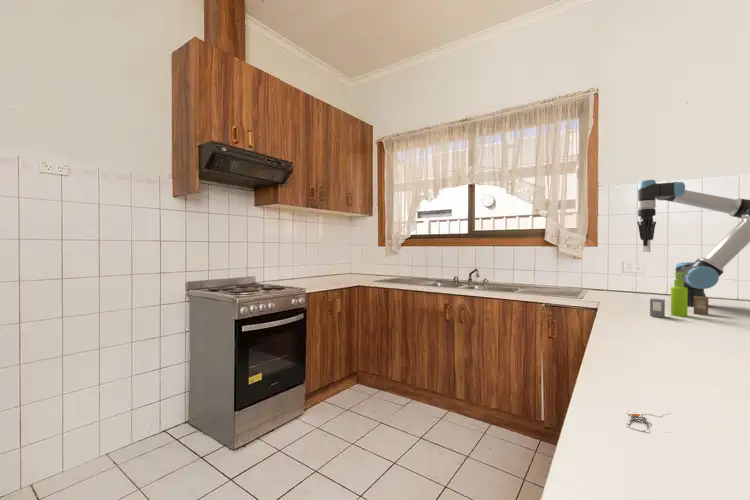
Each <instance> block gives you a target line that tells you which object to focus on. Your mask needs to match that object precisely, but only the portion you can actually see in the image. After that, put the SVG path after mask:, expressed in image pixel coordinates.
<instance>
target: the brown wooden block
mask: <svg viewBox="0 0 750 500" xmlns="http://www.w3.org/2000/svg"><path fill="white" fill-rule="evenodd" d="M693 314H694V315H699V316H709V297H708V296H706V297H697V296H694V306H693Z"/></svg>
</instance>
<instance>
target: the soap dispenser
mask: <svg viewBox="0 0 750 500" xmlns="http://www.w3.org/2000/svg"><path fill="white" fill-rule="evenodd" d="M676 274H677V279H676V278H675V279H674V280H673V281H674V282H673V283H674V284H673V286H670V315H671V316H674V317H688V306H687V288H686V287H684V280H682V279H681V274H686V275H689V274H688V273H676V272H674V274H673V275H676Z"/></svg>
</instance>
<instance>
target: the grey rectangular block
mask: <svg viewBox="0 0 750 500" xmlns="http://www.w3.org/2000/svg"><path fill="white" fill-rule="evenodd" d="M665 300H666V299H665V298H657V297H656V298H653V297H651V298H650V299H649V317H650V316H652V317H651V318H660V317H663V319H664V318H665V315H666V313H665V312H666V311H665V310H666V309H665V308H666V304H665V302H666V301H665Z"/></svg>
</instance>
